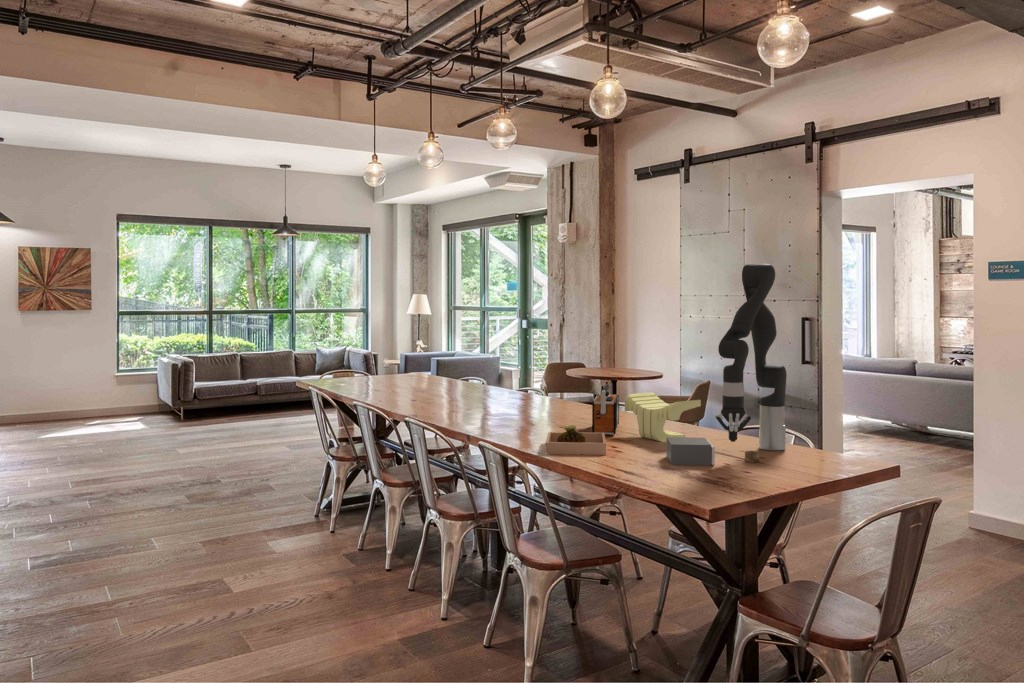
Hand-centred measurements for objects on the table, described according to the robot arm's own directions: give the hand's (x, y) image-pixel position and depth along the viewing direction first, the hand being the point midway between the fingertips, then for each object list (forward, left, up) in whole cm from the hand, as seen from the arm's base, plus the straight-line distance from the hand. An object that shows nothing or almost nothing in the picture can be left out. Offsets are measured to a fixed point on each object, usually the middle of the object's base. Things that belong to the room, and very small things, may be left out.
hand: (732, 441), depth 273 cm
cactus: (+60, -18, -8) cm, 63 cm away
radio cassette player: (+44, -61, -8) cm, 76 cm away
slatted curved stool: (+21, -44, -8) cm, 49 cm away
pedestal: (-7, 0, -7) cm, 10 cm away
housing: (+16, +1, -7) cm, 18 cm away
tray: (+15, +1, -7) cm, 17 cm away
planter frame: (+57, -19, -7) cm, 61 cm away
